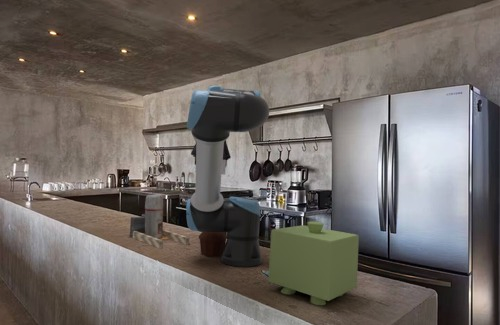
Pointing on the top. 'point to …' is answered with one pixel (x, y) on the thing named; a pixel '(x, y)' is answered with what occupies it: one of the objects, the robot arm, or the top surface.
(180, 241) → the track
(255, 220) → the robot arm
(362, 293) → the top surface
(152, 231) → the grey cylinder
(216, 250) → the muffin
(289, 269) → the container
